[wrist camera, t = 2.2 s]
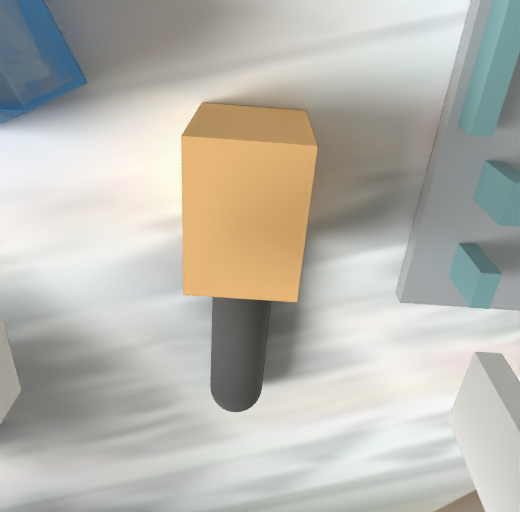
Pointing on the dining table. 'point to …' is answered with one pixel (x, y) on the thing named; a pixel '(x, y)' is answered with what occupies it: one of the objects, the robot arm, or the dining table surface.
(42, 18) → the perfume bottle
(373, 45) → the dining table surface
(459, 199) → the teal block plate
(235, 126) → the orange cube-head hammer
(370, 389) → the dining table surface
